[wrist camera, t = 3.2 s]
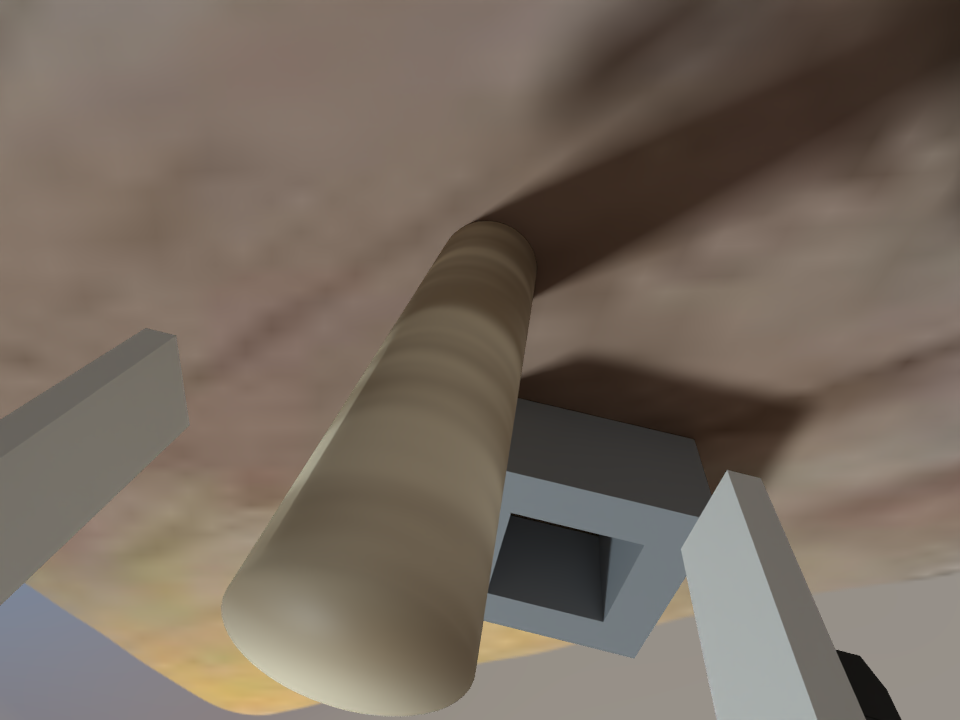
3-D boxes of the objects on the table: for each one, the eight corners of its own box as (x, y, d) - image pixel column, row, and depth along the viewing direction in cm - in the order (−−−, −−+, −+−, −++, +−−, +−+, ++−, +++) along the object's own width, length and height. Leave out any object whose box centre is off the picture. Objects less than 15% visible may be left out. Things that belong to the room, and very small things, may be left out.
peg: (448, 211, 21) (208, 530, 7) (547, 233, 20) (499, 603, 7) (435, 301, 23) (232, 680, 9) (525, 321, 22) (454, 738, 9)
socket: (485, 390, 25) (467, 461, 20) (694, 439, 24) (720, 522, 20) (454, 529, 30) (435, 608, 26) (625, 570, 30) (634, 658, 25)
